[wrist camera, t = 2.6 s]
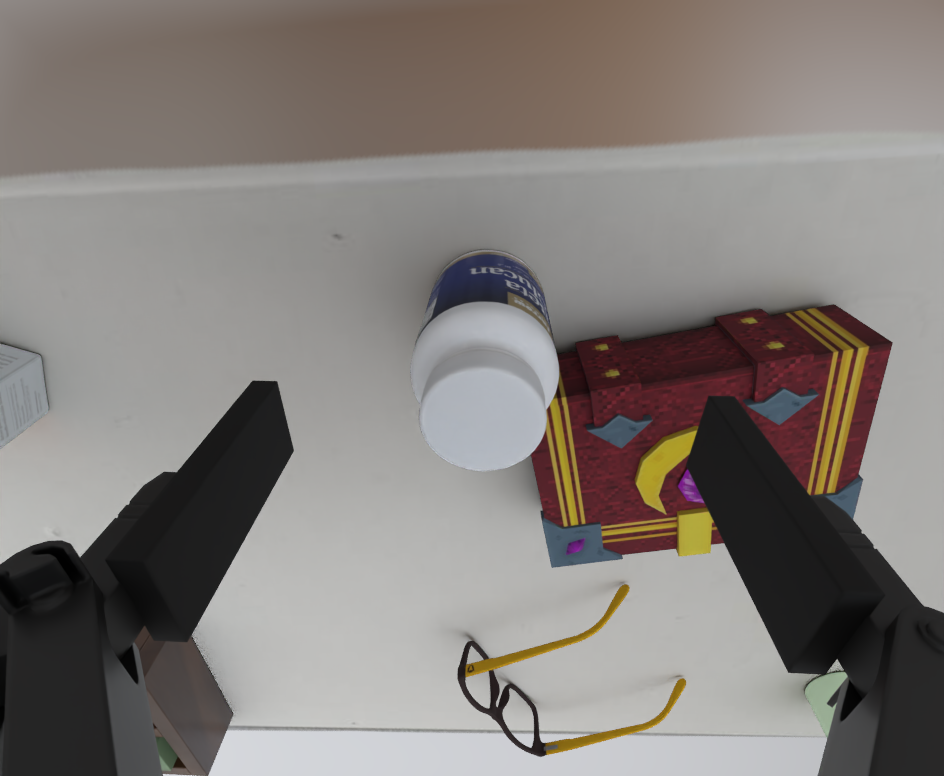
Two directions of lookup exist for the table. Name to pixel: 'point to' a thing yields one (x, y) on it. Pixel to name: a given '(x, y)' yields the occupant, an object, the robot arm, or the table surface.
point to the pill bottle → (485, 362)
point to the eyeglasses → (496, 713)
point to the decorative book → (677, 419)
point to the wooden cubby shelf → (183, 702)
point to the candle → (824, 697)
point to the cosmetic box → (20, 392)
